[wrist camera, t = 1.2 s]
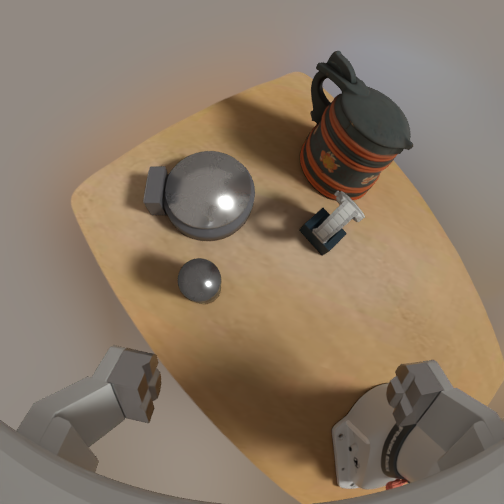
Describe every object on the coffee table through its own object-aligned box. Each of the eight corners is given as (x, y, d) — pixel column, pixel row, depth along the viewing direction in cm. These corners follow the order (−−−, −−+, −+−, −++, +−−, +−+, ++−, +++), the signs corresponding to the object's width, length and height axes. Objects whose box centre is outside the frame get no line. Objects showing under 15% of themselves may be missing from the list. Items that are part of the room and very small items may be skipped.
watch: (345, 231, 44) (378, 208, 34) (314, 262, 42) (344, 245, 32) (323, 207, 45) (350, 177, 34) (291, 236, 43) (312, 211, 32)
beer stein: (265, 141, 47) (288, 56, 27) (316, 110, 50) (350, 38, 31) (340, 218, 45) (407, 159, 25) (382, 176, 48) (443, 119, 29)
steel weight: (220, 305, 39) (220, 302, 31) (186, 303, 39) (176, 300, 30) (221, 270, 41) (222, 258, 32) (187, 269, 40) (178, 257, 31)
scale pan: (249, 231, 39) (250, 229, 38) (161, 228, 37) (160, 226, 37) (251, 155, 42) (251, 153, 41) (172, 153, 40) (171, 150, 39)
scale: (252, 242, 42) (256, 233, 37) (146, 239, 40) (137, 229, 36) (253, 163, 45) (256, 147, 40) (158, 161, 44) (152, 145, 39)
